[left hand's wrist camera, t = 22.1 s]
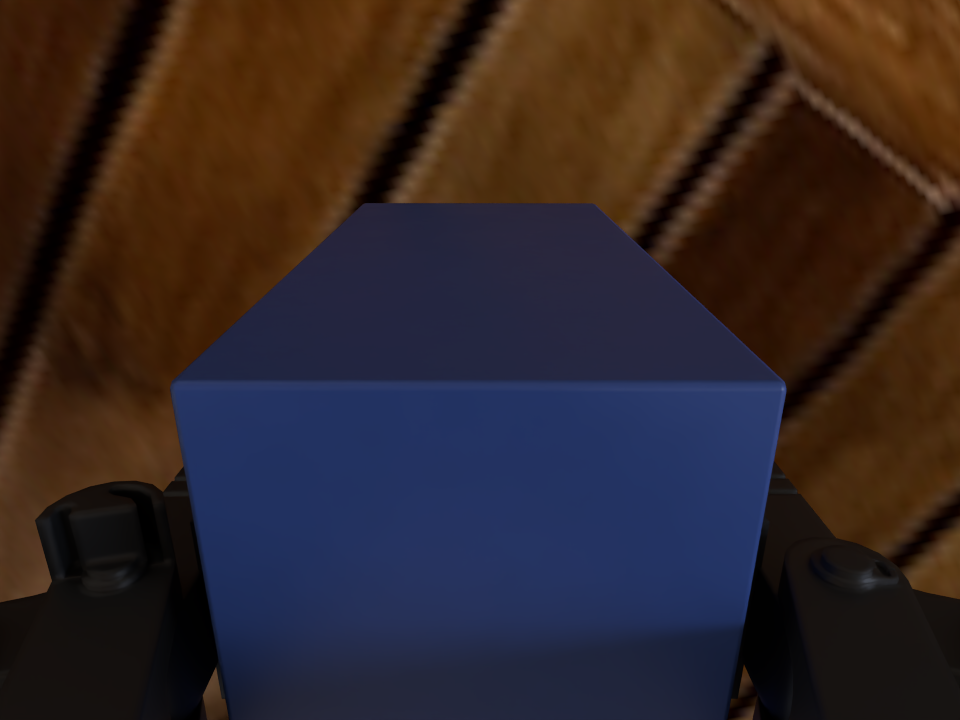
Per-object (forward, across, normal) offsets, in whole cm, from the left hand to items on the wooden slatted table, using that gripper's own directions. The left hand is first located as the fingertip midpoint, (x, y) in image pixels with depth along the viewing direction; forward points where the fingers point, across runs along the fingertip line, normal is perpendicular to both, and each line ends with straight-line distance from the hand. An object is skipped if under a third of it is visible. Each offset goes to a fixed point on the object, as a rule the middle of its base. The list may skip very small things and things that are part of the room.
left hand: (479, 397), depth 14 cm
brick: (+2, 0, 0) cm, 2 cm away
